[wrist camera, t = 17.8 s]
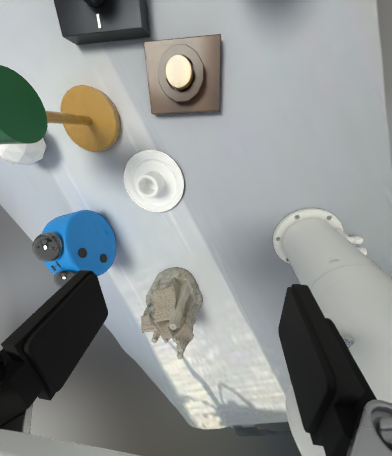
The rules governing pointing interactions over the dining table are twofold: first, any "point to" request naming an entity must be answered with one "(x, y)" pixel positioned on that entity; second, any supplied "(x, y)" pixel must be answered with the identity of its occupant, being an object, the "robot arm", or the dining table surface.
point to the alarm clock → (76, 245)
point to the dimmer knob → (94, 2)
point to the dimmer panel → (102, 20)
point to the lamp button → (179, 72)
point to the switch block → (202, 75)
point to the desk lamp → (56, 114)
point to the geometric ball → (23, 152)
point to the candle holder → (153, 181)
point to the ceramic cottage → (172, 308)
